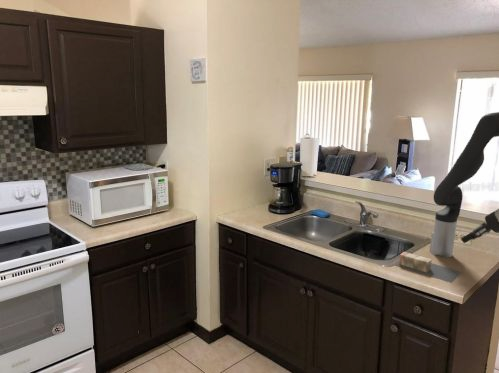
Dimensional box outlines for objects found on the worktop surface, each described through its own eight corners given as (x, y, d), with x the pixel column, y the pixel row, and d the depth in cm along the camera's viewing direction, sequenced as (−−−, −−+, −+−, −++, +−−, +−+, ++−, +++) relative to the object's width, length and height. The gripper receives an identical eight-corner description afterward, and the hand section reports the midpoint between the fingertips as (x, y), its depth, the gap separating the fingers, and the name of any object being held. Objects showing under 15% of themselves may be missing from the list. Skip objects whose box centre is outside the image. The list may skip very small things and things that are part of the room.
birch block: (426, 272, 175) (398, 264, 183) (430, 269, 178) (403, 261, 186) (427, 262, 174) (399, 254, 182) (431, 259, 177) (404, 251, 185)
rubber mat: (393, 266, 182) (393, 265, 182) (406, 257, 192) (406, 256, 192) (451, 284, 166) (451, 282, 166) (462, 273, 176) (462, 271, 176)
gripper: (500, 206, 161) (461, 228, 172) (491, 214, 151) (451, 237, 162) (513, 222, 159) (473, 244, 170) (505, 231, 149) (463, 253, 160)
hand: (462, 240), depth 166 cm, fingers closed
